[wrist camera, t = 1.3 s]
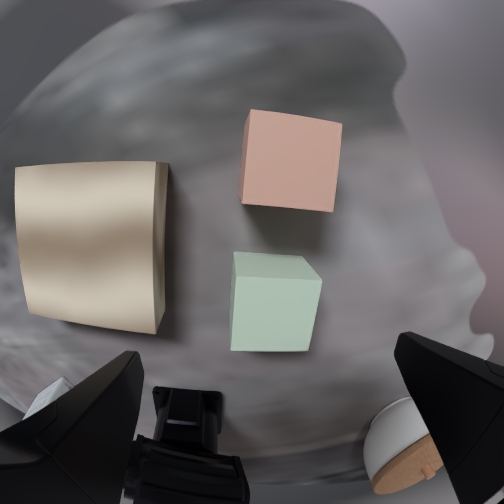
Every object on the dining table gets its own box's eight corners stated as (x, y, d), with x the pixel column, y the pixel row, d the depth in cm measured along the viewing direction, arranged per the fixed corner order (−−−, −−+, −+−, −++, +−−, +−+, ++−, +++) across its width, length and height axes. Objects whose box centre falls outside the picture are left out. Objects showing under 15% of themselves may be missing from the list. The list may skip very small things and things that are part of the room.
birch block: (166, 307, 22) (155, 334, 18) (52, 293, 20) (29, 312, 17) (169, 163, 19) (155, 161, 15) (44, 165, 17) (15, 167, 14)
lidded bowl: (435, 410, 30) (471, 459, 19) (361, 455, 30) (386, 512, 20) (430, 361, 26) (483, 420, 16) (337, 419, 27) (370, 495, 16)
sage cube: (292, 315, 22) (307, 350, 18) (229, 313, 22) (230, 350, 17) (301, 255, 21) (322, 280, 16) (233, 251, 20) (236, 276, 16)
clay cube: (308, 201, 20) (333, 212, 15) (238, 195, 19) (242, 203, 15) (315, 133, 19) (342, 123, 14) (244, 124, 18) (250, 109, 13)
